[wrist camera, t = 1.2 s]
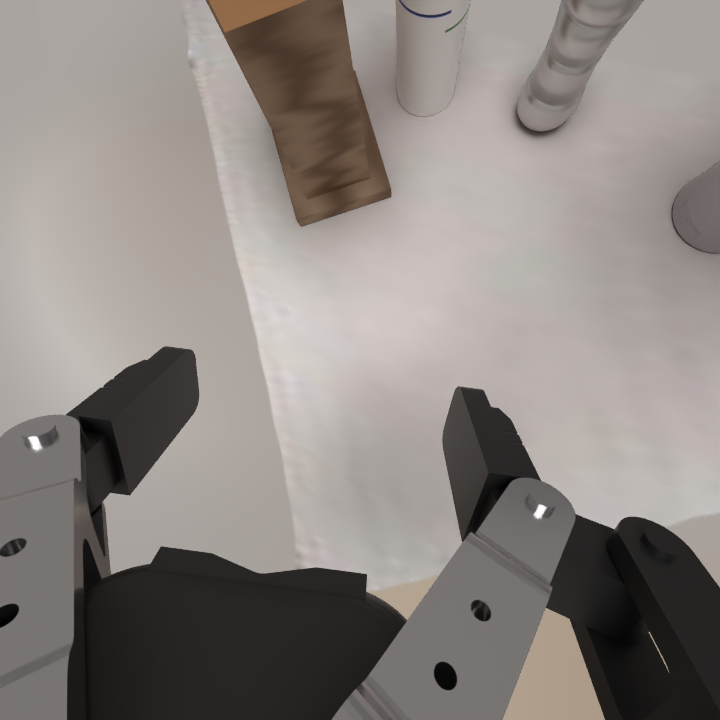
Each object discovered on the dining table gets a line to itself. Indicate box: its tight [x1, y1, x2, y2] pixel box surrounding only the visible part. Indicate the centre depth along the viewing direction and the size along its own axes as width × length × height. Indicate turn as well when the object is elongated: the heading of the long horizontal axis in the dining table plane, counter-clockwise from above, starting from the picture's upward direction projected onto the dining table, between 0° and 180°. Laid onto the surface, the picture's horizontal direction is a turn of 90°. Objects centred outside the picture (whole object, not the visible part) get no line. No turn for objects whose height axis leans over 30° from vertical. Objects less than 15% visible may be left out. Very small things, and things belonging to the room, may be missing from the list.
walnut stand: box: [206, 0, 391, 226], centre depth 31 cm, size 12×16×33 cm
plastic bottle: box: [517, 0, 644, 131], centre depth 35 cm, size 6×7×20 cm
